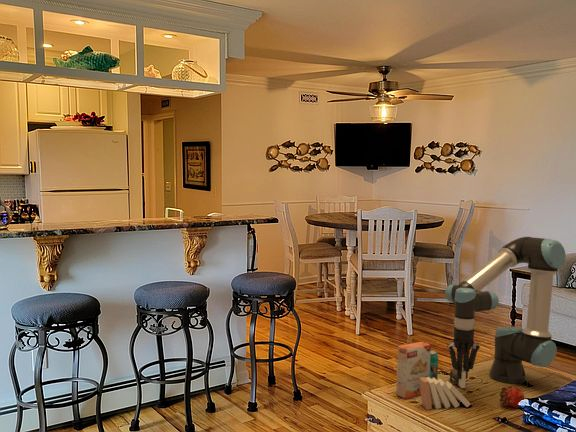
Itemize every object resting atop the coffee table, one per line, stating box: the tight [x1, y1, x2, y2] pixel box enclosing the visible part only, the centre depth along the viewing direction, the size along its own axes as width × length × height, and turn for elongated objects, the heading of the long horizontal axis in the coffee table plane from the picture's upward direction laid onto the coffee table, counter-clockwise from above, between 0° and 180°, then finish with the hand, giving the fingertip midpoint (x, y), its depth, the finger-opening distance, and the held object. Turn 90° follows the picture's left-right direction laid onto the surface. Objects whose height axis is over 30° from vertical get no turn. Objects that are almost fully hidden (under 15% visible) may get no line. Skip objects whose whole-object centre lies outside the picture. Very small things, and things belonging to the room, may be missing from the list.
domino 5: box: [444, 380, 471, 408], centre depth 216 cm, size 2×5×11 cm
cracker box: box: [395, 341, 432, 400], centre depth 227 cm, size 14×6×21 cm, turn 123°
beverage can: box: [430, 349, 439, 380], centre depth 237 cm, size 6×6×15 cm
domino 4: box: [437, 378, 460, 409], centre depth 216 cm, size 2×5×11 cm
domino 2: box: [426, 377, 442, 410], centre depth 215 cm, size 2×5×11 cm, turn 9°
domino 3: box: [432, 378, 451, 409], centre depth 215 cm, size 2×5×11 cm, turn 9°
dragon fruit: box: [499, 386, 525, 409], centre depth 216 cm, size 8×8×12 cm
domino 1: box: [419, 377, 433, 410], centre depth 214 cm, size 2×5×11 cm, turn 9°
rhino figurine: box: [448, 368, 467, 389], centre depth 238 cm, size 4×14×6 cm, turn 7°
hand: (461, 386), depth 216 cm, fingers closed
